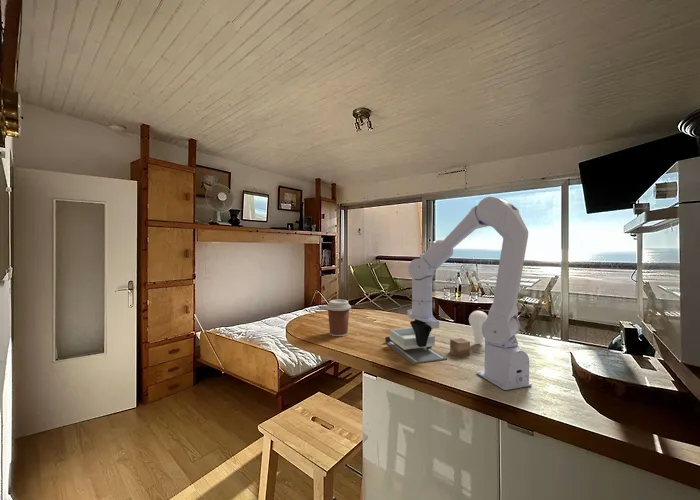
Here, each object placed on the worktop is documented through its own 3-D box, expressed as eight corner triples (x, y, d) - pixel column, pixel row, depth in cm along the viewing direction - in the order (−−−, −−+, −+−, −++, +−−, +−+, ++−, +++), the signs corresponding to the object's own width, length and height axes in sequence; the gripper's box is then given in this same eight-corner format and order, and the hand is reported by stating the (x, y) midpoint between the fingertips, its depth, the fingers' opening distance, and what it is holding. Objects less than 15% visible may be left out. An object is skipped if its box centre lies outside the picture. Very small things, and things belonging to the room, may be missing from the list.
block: (469, 355, 89) (470, 342, 89) (458, 356, 88) (458, 343, 88) (461, 350, 93) (461, 337, 93) (449, 352, 92) (450, 339, 92)
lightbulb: (491, 348, 95) (491, 313, 94) (470, 346, 96) (470, 312, 96) (486, 341, 101) (486, 309, 100) (467, 340, 102) (467, 308, 102)
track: (447, 359, 86) (447, 352, 86) (412, 364, 82) (412, 357, 82) (414, 339, 103) (414, 333, 103) (385, 342, 100) (385, 336, 100)
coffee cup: (322, 336, 106) (322, 302, 106) (331, 329, 115) (331, 298, 115) (346, 339, 104) (346, 304, 103) (354, 331, 113) (354, 299, 112)
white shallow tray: (434, 350, 91) (434, 336, 91) (404, 353, 88) (404, 339, 88) (417, 339, 101) (417, 327, 101) (389, 342, 98) (389, 329, 98)
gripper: (398, 296, 94) (398, 339, 94) (422, 305, 80) (422, 356, 80) (418, 295, 96) (418, 337, 96) (445, 304, 82) (445, 353, 82)
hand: (421, 346), depth 88 cm, fingers closed
